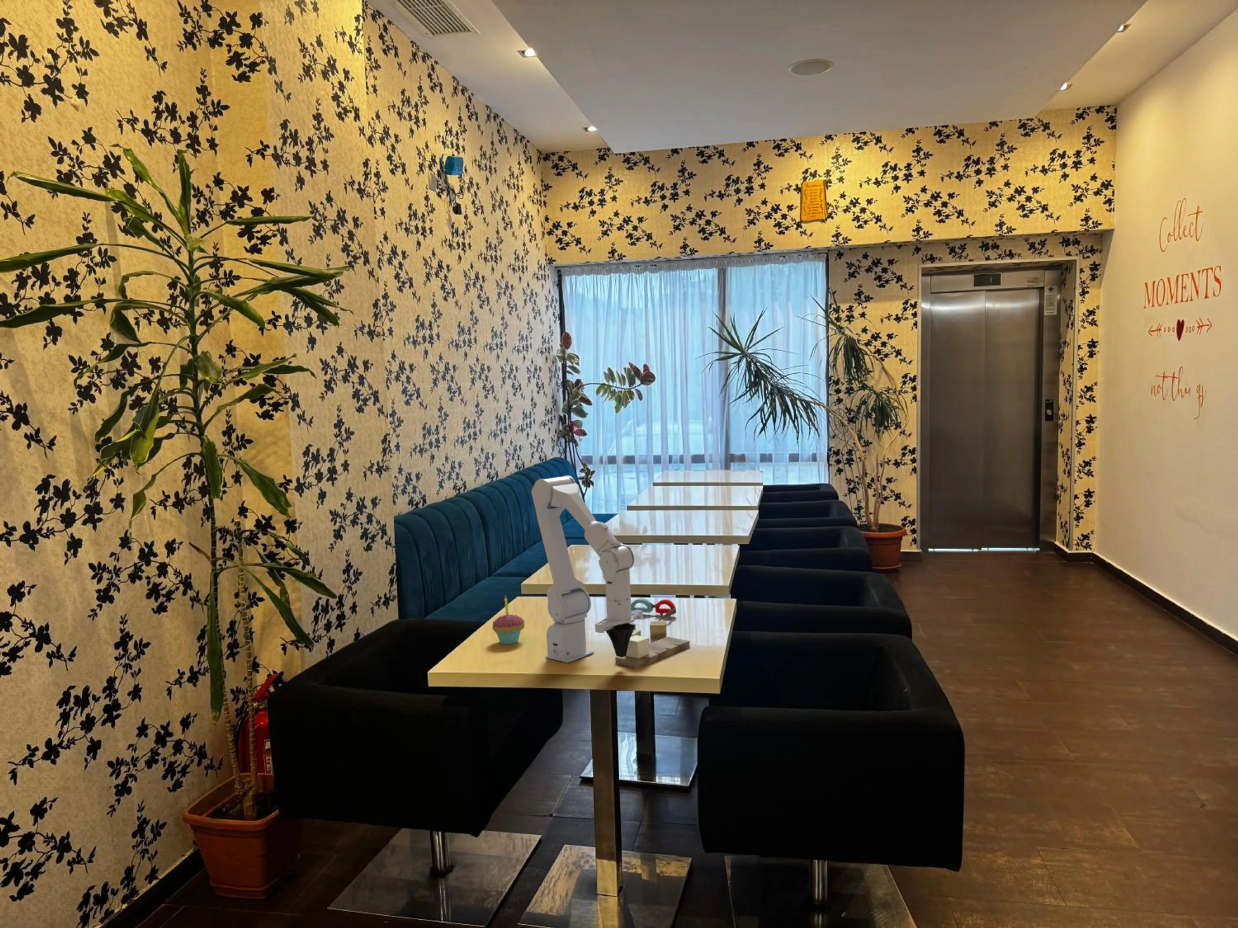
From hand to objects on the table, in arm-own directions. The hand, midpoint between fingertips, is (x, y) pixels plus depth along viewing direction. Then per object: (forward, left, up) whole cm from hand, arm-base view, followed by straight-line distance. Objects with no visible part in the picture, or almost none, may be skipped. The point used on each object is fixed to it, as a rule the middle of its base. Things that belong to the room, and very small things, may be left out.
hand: (621, 655), depth 197 cm
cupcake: (0, +39, -3) cm, 39 cm away
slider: (+6, 0, -1) cm, 6 cm away
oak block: (+24, +8, -3) cm, 25 cm away
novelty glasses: (+35, +21, -3) cm, 41 cm away
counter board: (+12, 0, -3) cm, 12 cm away
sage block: (+14, +9, -3) cm, 17 cm away
